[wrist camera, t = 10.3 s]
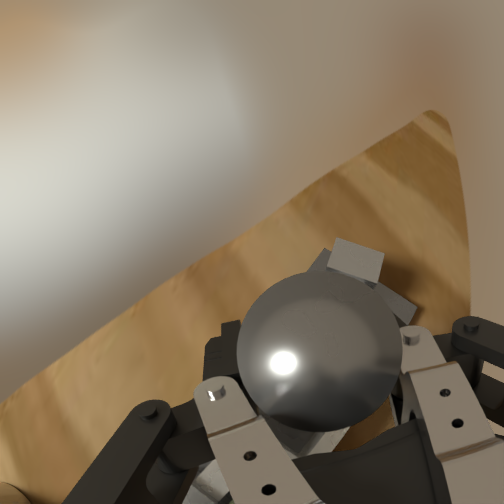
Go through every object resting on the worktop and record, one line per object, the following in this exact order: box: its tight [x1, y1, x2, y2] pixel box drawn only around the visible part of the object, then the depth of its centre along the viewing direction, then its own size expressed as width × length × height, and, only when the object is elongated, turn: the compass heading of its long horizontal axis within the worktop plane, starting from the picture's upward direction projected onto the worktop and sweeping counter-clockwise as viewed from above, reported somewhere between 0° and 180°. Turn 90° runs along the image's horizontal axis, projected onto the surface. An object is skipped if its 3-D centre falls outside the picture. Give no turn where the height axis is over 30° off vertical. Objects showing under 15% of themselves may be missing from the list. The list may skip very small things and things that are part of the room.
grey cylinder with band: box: [237, 271, 403, 432], centre depth 11 cm, size 4×4×9 cm
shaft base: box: [182, 237, 417, 504], centre depth 19 cm, size 22×9×5 cm, turn 142°
